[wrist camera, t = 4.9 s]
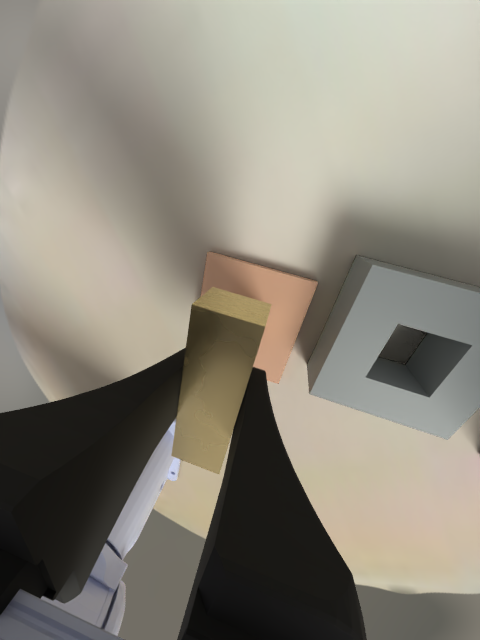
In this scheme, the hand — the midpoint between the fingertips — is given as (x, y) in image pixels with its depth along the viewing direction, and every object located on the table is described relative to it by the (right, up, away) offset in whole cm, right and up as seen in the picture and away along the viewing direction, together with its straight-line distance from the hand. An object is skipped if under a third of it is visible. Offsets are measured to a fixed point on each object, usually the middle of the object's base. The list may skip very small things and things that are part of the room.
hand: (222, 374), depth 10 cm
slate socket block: (+10, +2, +4) cm, 11 cm away
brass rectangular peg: (+1, +2, +5) cm, 5 cm away
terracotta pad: (+1, +2, +5) cm, 6 cm away
